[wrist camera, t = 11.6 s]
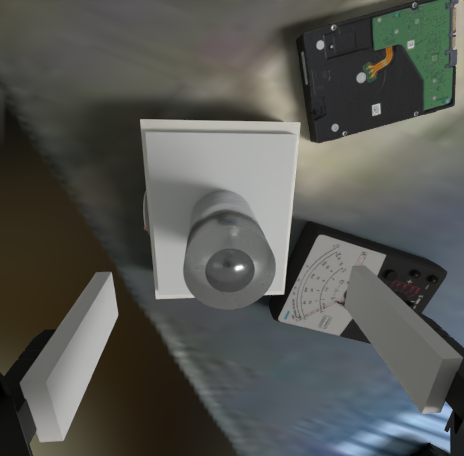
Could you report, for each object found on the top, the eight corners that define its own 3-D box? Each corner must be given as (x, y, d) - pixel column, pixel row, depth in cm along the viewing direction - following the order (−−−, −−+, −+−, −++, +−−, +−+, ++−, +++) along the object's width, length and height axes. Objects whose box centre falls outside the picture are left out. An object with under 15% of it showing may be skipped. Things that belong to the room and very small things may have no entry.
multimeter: (382, 333, 43) (404, 359, 38) (266, 304, 39) (274, 329, 35) (430, 259, 39) (461, 278, 34) (305, 218, 35) (320, 233, 31)
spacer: (189, 190, 26) (180, 228, 17) (254, 190, 26) (279, 227, 18) (191, 250, 28) (185, 311, 19) (252, 248, 29) (272, 308, 20)
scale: (143, 119, 29) (128, 119, 23) (284, 121, 31) (303, 122, 25) (156, 273, 36) (147, 303, 30) (273, 270, 37) (286, 298, 31)
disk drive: (309, 143, 32) (437, 106, 32) (318, 146, 30) (458, 105, 29) (292, 40, 29) (438, -4, 28) (301, 32, 26) (461, -16, 26)
